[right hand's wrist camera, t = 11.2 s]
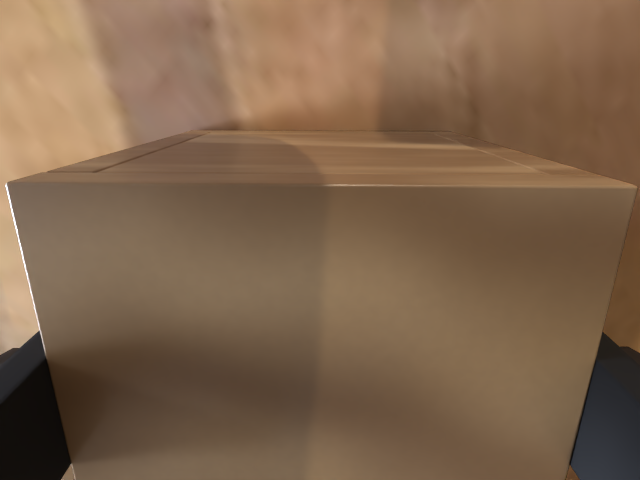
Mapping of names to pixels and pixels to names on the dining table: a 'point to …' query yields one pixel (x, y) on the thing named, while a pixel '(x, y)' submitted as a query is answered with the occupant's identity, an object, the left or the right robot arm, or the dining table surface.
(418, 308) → the cabinet
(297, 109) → the dining table surface
